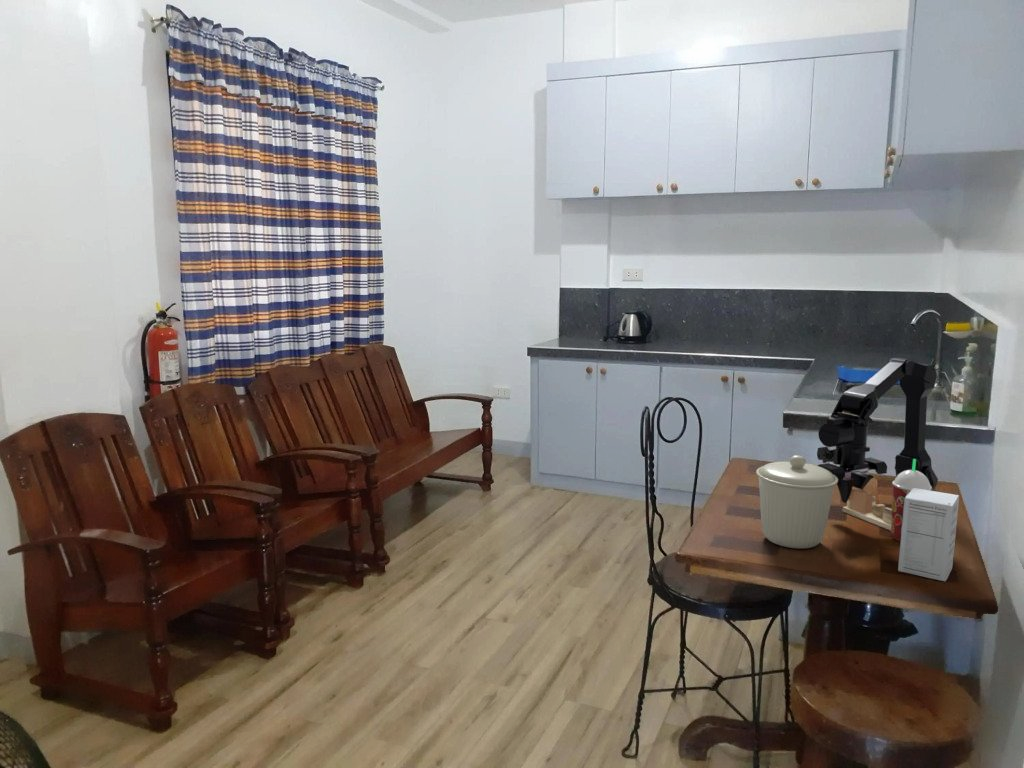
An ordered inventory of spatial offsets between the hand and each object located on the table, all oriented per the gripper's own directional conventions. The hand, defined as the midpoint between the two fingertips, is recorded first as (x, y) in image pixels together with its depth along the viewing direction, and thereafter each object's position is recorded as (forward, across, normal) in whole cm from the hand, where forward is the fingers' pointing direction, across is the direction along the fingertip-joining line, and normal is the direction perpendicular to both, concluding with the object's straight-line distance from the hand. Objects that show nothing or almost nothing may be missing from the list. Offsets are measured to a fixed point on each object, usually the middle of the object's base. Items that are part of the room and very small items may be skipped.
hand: (848, 501), depth 190 cm
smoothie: (+6, -6, +13) cm, 15 cm away
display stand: (+6, -11, 0) cm, 13 cm away
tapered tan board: (+1, 0, 0) cm, 1 cm away
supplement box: (+6, +6, +27) cm, 28 cm away
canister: (+6, +21, +3) cm, 22 cm away
